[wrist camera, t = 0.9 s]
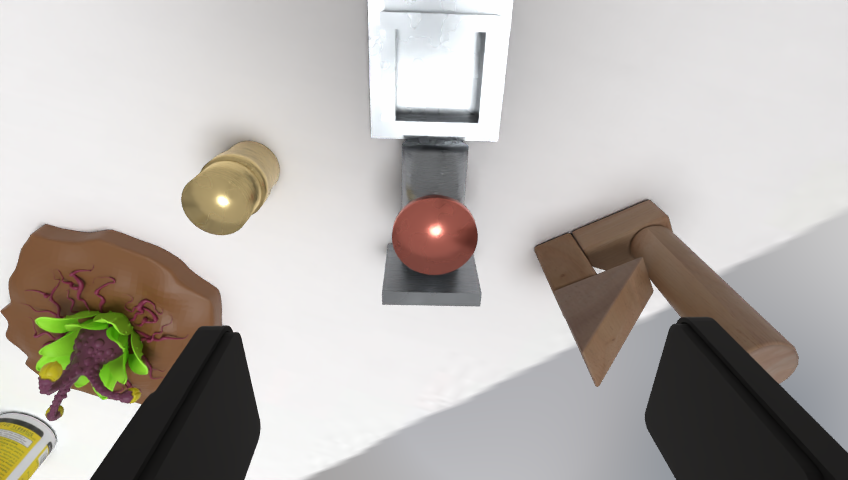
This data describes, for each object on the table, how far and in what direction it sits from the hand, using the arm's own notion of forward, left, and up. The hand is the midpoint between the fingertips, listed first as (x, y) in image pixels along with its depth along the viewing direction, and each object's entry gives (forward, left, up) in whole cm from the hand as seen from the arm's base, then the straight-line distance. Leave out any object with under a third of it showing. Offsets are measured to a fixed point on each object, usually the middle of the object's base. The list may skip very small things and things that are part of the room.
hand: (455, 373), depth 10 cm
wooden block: (+12, +16, -29) cm, 35 cm away
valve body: (+3, +1, -29) cm, 29 cm away
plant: (+22, -29, -30) cm, 47 cm away
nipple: (+6, -14, -29) cm, 33 cm away
